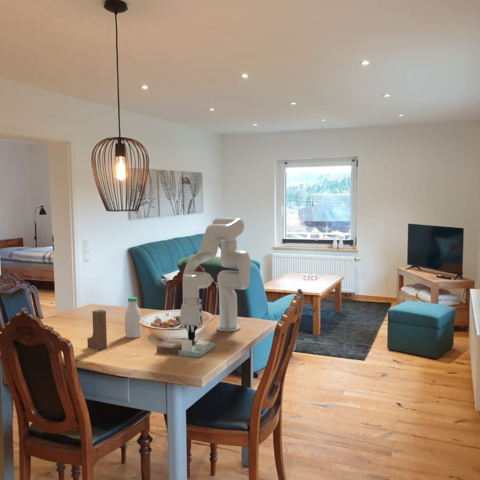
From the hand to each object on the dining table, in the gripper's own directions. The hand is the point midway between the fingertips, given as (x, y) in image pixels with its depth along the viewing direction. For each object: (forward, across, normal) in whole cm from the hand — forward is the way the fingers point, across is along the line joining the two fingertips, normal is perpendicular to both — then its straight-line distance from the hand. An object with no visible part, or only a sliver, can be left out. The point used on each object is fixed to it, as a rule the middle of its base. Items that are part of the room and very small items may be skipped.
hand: (191, 339), depth 214 cm
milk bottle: (+4, +37, -6) cm, 37 cm away
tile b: (+1, -1, +8) cm, 8 cm away
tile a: (+1, -6, 0) cm, 6 cm away
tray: (+4, -5, +4) cm, 7 cm away
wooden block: (+4, +42, +16) cm, 45 cm away
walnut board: (+4, +6, +4) cm, 8 cm away
